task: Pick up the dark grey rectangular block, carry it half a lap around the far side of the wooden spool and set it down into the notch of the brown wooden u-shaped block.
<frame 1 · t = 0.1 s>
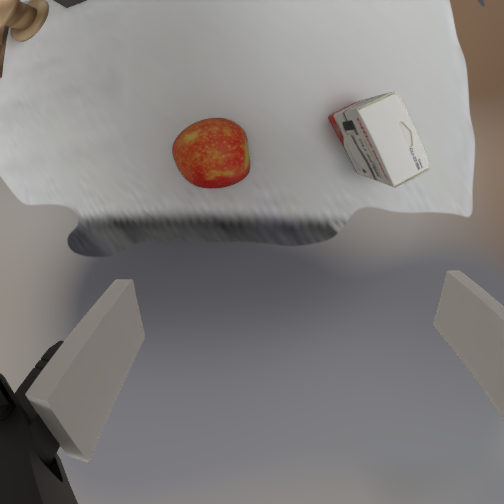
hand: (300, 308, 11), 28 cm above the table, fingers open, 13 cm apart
brown wooden u-shaped block: (0, 37, 27), on the table
ink box: (357, 137, 35), on the table
apple: (215, 152, 36), on the table
wooden spool: (30, 20, 26), on the table
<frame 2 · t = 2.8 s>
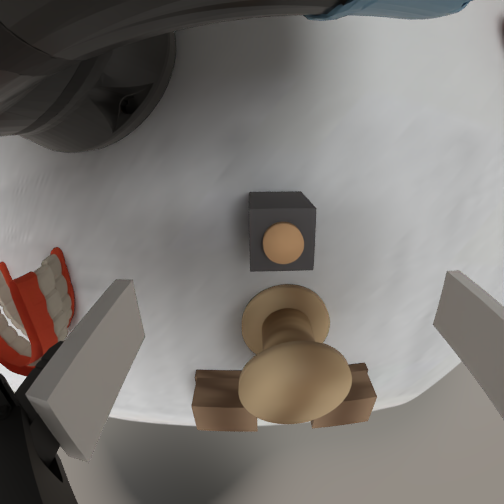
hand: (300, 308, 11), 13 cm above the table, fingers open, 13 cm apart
brown wooden u-shaped block: (282, 382, 30), on the table
toy: (43, 296, 27), on the table
dark grey rectangular block: (275, 216, 24), on the table
wooden spool: (285, 322, 28), on the table
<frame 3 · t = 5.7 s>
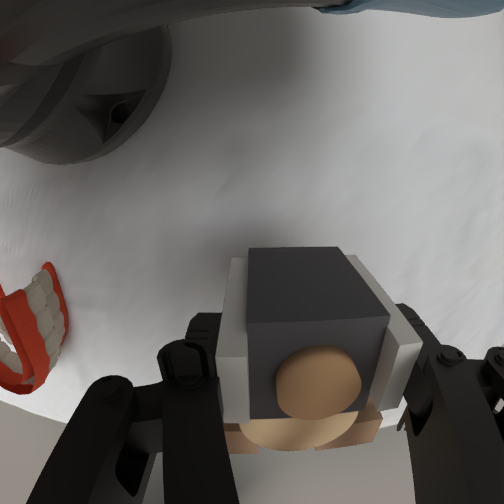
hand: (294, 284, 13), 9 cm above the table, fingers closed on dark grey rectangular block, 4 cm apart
brown wooden u-shaped block: (284, 403, 28), on the table
toy: (36, 312, 26), on the table
dark grey rectangular block: (292, 288, 14), point 9 cm above the table, touching gripper
wooden spool: (288, 344, 26), on the table
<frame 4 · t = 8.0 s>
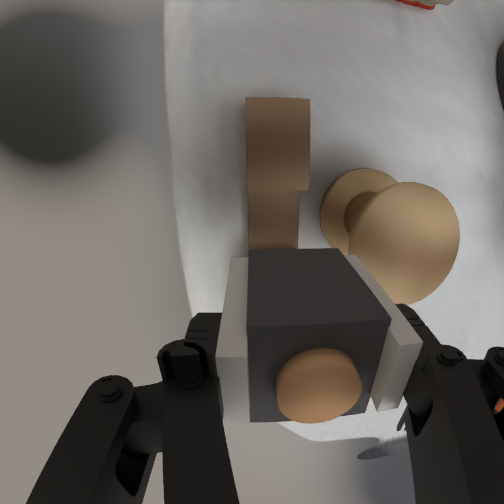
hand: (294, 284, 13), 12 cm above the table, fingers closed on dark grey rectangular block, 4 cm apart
brown wooden u-shaped block: (272, 213, 25), on the table
dark grey rectangular block: (292, 289, 14), point 12 cm above the table, touching gripper
apple: (492, 384, 35), on the table
wooden spool: (364, 214, 25), on the table
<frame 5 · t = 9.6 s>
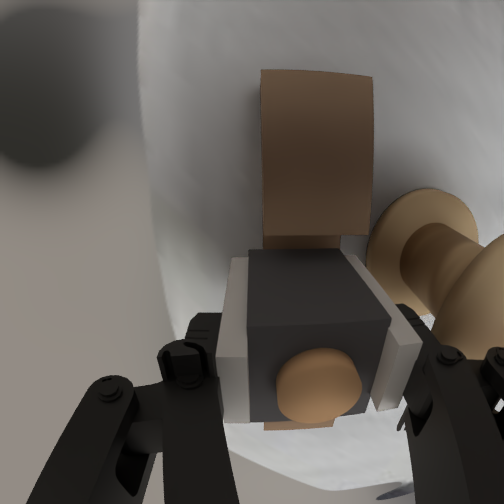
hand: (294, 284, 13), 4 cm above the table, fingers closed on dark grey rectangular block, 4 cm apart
brown wooden u-shaped block: (298, 254, 17), on the table
dark grey rectangular block: (293, 289, 14), point 3 cm above the table, touching gripper
wooden spool: (423, 252, 17), on the table
when the fingers open (3 cm above the table, at t = 10.3 s): dark grey rectangular block stays where it is, resting on brown wooden u-shaped block.
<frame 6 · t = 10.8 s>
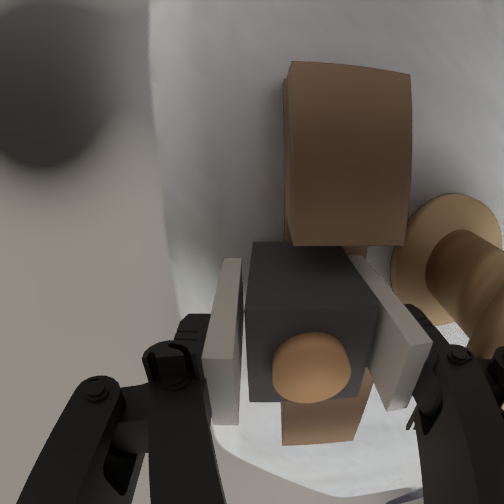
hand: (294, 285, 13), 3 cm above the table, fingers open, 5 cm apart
brown wooden u-shaped block: (321, 262, 16), on the table
dark grey rectangular block: (295, 280, 15), point 1 cm above the table, touching brown wooden u-shaped block
wooden spool: (447, 259, 15), on the table
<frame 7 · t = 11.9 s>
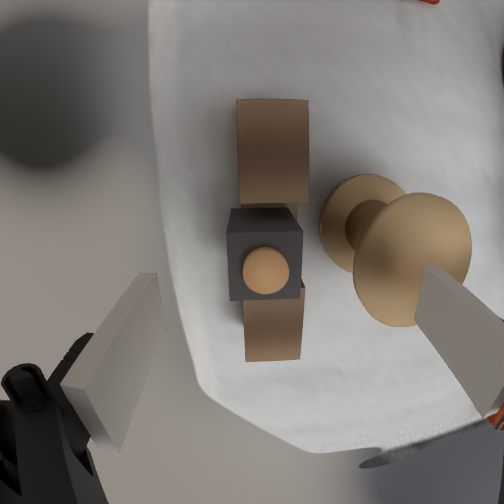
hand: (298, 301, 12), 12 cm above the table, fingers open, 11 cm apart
brown wooden u-shaped block: (268, 225, 23), on the table
dark grey rectangular block: (260, 234, 22), point 1 cm above the table, touching brown wooden u-shaped block
apple: (495, 389, 34), on the table
wooden spool: (366, 223, 23), on the table
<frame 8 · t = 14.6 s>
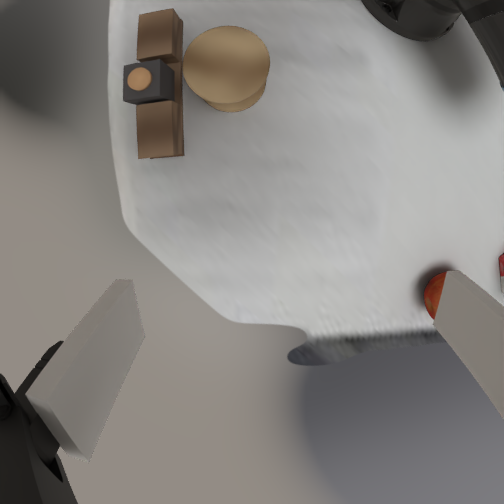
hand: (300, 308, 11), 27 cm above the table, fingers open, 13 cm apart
brown wooden u-shaped block: (166, 86, 32), on the table
dark grey rectangular block: (158, 88, 31), point 1 cm above the table, touching brown wooden u-shaped block
apple: (436, 285, 41), on the table
wooden spool: (231, 80, 32), on the table
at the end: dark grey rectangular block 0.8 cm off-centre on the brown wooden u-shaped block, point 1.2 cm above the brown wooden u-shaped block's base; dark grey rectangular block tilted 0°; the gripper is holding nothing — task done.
